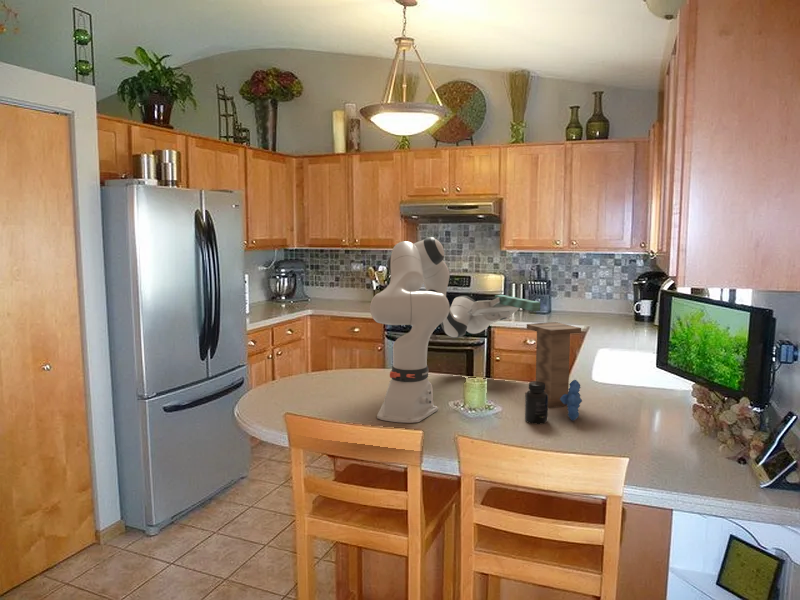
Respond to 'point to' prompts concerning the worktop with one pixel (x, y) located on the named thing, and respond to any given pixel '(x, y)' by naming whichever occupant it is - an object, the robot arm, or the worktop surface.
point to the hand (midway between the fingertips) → (504, 298)
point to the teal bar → (519, 303)
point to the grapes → (572, 399)
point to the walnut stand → (553, 358)
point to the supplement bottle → (536, 403)
